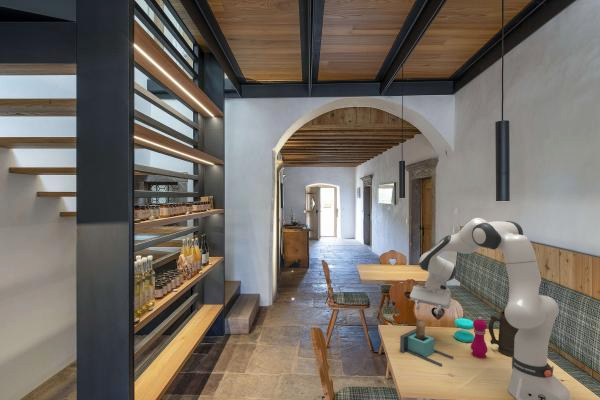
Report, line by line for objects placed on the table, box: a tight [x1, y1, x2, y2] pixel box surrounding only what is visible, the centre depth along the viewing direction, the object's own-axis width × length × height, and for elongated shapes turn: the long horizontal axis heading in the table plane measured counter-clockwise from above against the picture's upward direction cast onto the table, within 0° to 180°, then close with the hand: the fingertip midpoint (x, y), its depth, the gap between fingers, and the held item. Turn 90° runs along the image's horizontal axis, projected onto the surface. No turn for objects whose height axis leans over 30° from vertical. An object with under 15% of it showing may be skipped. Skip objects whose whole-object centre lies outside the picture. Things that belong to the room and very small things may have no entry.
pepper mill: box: [470, 316, 488, 359], centre depth 170 cm, size 7×7×20 cm
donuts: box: [453, 317, 475, 343], centre depth 191 cm, size 10×10×10 cm
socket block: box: [408, 334, 435, 358], centre depth 173 cm, size 9×9×7 cm
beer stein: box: [487, 310, 519, 358], centre depth 176 cm, size 15×11×20 cm
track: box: [399, 328, 454, 367], centre depth 170 cm, size 20×16×9 cm
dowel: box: [415, 319, 426, 341], centre depth 173 cm, size 4×4×12 cm
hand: (426, 311), depth 180 cm, fingers open, 8 cm apart
